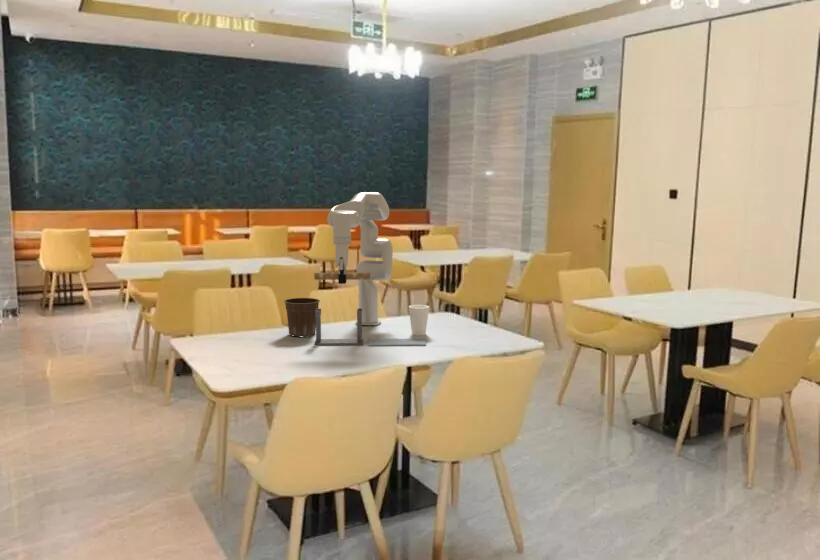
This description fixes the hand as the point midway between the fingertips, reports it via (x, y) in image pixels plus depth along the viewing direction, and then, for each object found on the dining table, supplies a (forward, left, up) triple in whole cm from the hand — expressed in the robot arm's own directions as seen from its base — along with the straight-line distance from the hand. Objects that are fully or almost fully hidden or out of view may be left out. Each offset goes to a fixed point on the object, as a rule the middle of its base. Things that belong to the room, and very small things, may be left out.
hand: (342, 282), depth 311 cm
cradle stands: (0, -2, -27) cm, 27 cm away
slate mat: (0, +24, -27) cm, 36 cm away
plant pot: (-18, -20, -27) cm, 38 cm away
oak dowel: (0, 0, +1) cm, 1 cm away
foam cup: (-18, +34, -27) cm, 47 cm away
